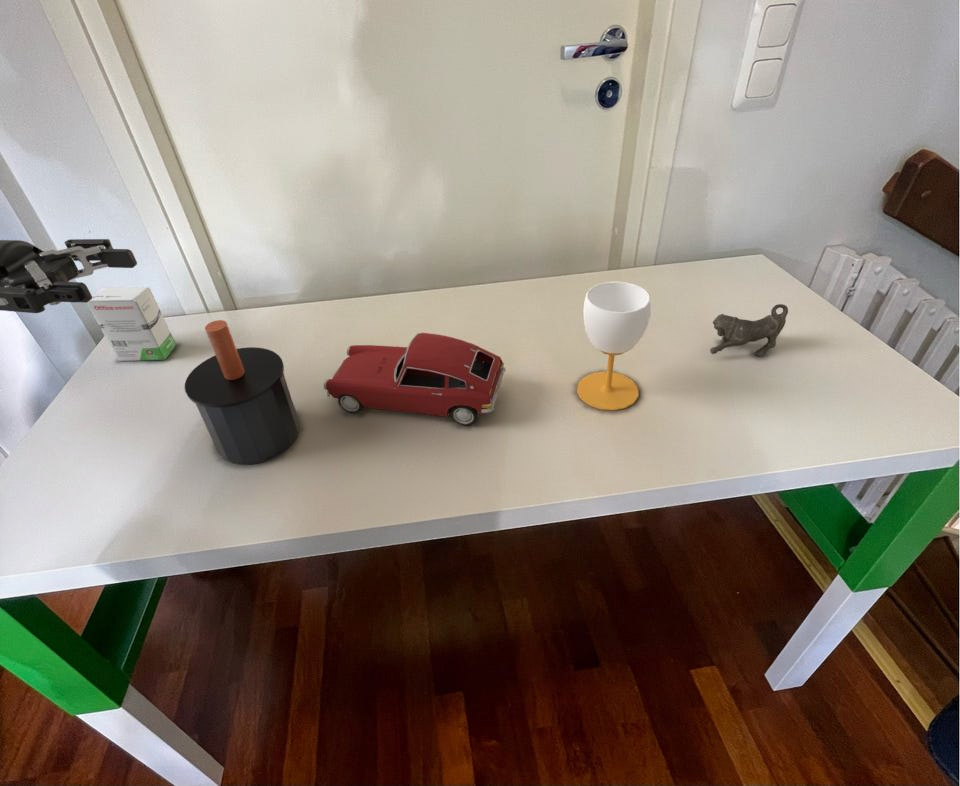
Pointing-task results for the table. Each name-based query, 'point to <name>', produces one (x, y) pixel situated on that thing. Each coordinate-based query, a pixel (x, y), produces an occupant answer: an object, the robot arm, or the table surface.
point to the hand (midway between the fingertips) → (111, 274)
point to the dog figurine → (749, 330)
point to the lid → (232, 371)
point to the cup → (613, 340)
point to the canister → (254, 427)
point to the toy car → (420, 378)
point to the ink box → (132, 323)
